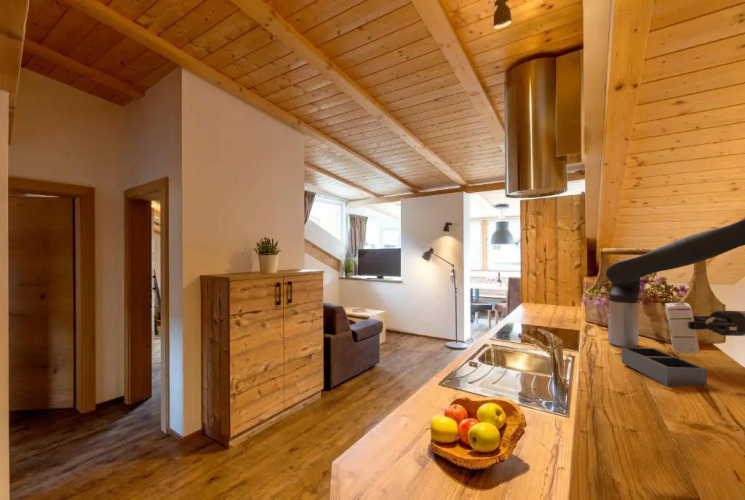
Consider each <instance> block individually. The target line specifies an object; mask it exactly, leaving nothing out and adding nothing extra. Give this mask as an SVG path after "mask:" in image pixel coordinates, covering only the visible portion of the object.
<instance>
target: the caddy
mask: <svg viewBox="0 0 745 500" xmlns="http://www.w3.org/2000/svg"><path fill="white" fill-rule="evenodd" d="M621 363H622V364H623V365H626V366H628V367H630V368H631V369H633V370H636V371H638V372H639V373H640V374H643V375H644V376H646V377H648V378H651V379H652V380H654V381H656V382H659V383H660V384H661V385H663V386H666V387H693V386H696V387H697V386H699V387H700V386H708V382H707V381H708V380H707V379H708V372H707V371H708V370H707V368H705V367H702V366H699V365H697V364H694V363H692V362H690V361H688V360H685V359H682V358H680V357H677V356H675V355H672V354H670V353H667V352H665V351H663V350H660V349H657V348H654V347H622V346H621Z"/></svg>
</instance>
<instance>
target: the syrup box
mask: <svg viewBox="0 0 745 500" xmlns="http://www.w3.org/2000/svg"><path fill="white" fill-rule="evenodd" d="M664 307H665V312H666V320H667V319H668V322H667V325H668V328H669V334H670V335H669V336H670V340H671V346H672V349H673V351H674V353H677V354H690V355H691V354H692V355H700V354H701V353H700V351H701V350H700V345H699V340H698V335H697V334H698V333H697V330H696V329H689V327H688V326H689V322H694V318H693V314H694V313H693V308H692V306H691V305H690V304H689V303H688V302H667V303H664Z"/></svg>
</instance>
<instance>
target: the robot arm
mask: <svg viewBox="0 0 745 500" xmlns="http://www.w3.org/2000/svg"><path fill="white" fill-rule="evenodd" d="M744 246H745V218H742V219H740V220H738V221H736V222H733V223H731V224H728V225H725V226H722V227H718V228H713V229H710V230H705V231H702V232H699V233H695V234H691V235H688V236H686V237H683V238H680V239H677V240H674V241H672V242H670V243H667V244H665V245H662V246H660V247H658V248H655V249H653V250H651V251H649V252H646V253H644V254H641V255H638V256H635V257H632V258H628V259H625V260H619V261H614V262H612V263H611V264H610V265H608V266H607V268H606V270H605V276H606V278H607V280H608V281H609V282H611V288H610V291H609V294H608V319H607V326H608V327H607V329H608V330H607V331H608V332H607V333H608V334H607V341H608V343H609V344H611V345H614V346H618V347H621V348H622V347H631V348H635V347H634V346H638V347H639V296H640V291H641V278H643V277H646V276H648V275H652V274H655V273H659V272H663V271H664V272H665V271H669V270H670V271H671V270H674V269H678V268H683V267H686V266H691V265H693V264H696V263H700V262H704V261H706V260H708V259H709V260H710V259H712V258H715V257H717V256H720V255H723V254H725V253H727V252H730V251H732V250H735V249H737V248H740V247H744ZM693 318H694V322H689V326H688V327H689V329H696V331H697V330H698V331H699V330H701V331H702V330H703V331H707V332H712V333H716V334H718V335H720V336H725V337H726V336H727V337H732V336H733V337H745V310H715V311H713V312H712V313H710V315H709V314H708V315H707V314H701V315H699V314H697V313H693ZM666 322H667V323H668V319H667V318H666Z"/></svg>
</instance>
